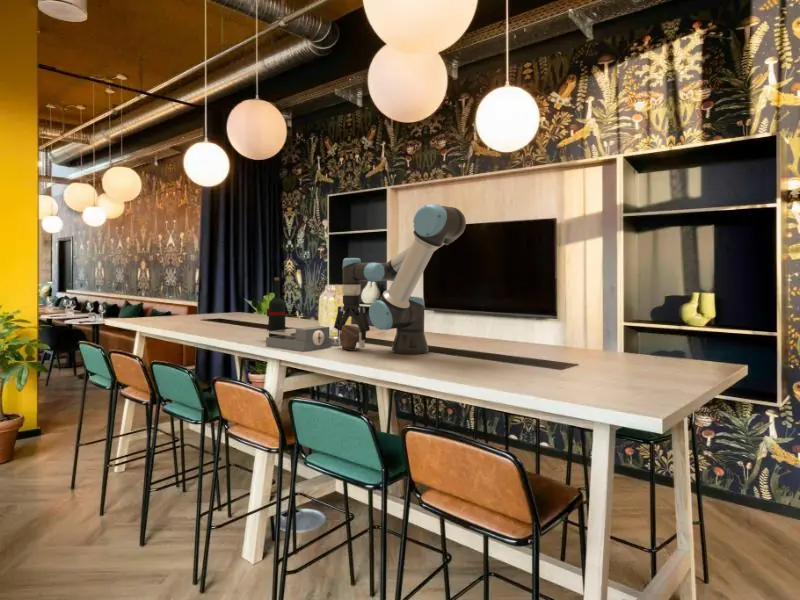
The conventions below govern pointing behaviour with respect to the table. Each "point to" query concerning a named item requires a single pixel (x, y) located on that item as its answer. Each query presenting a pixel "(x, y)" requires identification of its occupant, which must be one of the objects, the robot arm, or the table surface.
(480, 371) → the table surface
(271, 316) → the wine bottle
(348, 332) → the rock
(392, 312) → the robot arm
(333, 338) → the spacer
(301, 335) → the scale base
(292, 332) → the pan
